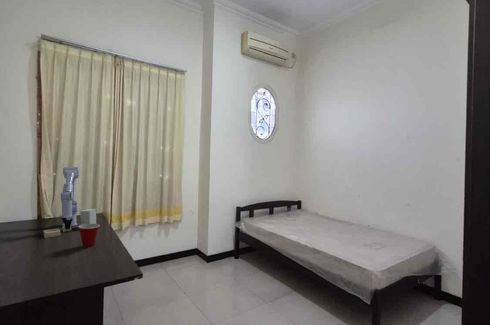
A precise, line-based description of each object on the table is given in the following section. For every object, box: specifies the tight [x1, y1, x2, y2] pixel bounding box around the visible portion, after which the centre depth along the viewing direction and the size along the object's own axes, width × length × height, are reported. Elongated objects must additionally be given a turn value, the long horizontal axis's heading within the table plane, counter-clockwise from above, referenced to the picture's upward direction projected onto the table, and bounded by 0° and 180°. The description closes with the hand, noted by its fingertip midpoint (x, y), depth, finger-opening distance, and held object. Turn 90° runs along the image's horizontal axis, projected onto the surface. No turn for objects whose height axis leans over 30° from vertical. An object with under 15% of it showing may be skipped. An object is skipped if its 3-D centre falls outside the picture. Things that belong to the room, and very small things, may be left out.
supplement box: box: [79, 208, 97, 225], centre depth 185 cm, size 7×7×13 cm
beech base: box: [43, 227, 61, 239], centre depth 165 cm, size 8×8×3 cm
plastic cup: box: [77, 223, 101, 248], centre depth 147 cm, size 11×11×12 cm
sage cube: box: [62, 223, 72, 233], centre depth 176 cm, size 4×4×4 cm
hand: (67, 228), depth 176 cm, fingers closed on sage cube, 4 cm apart
